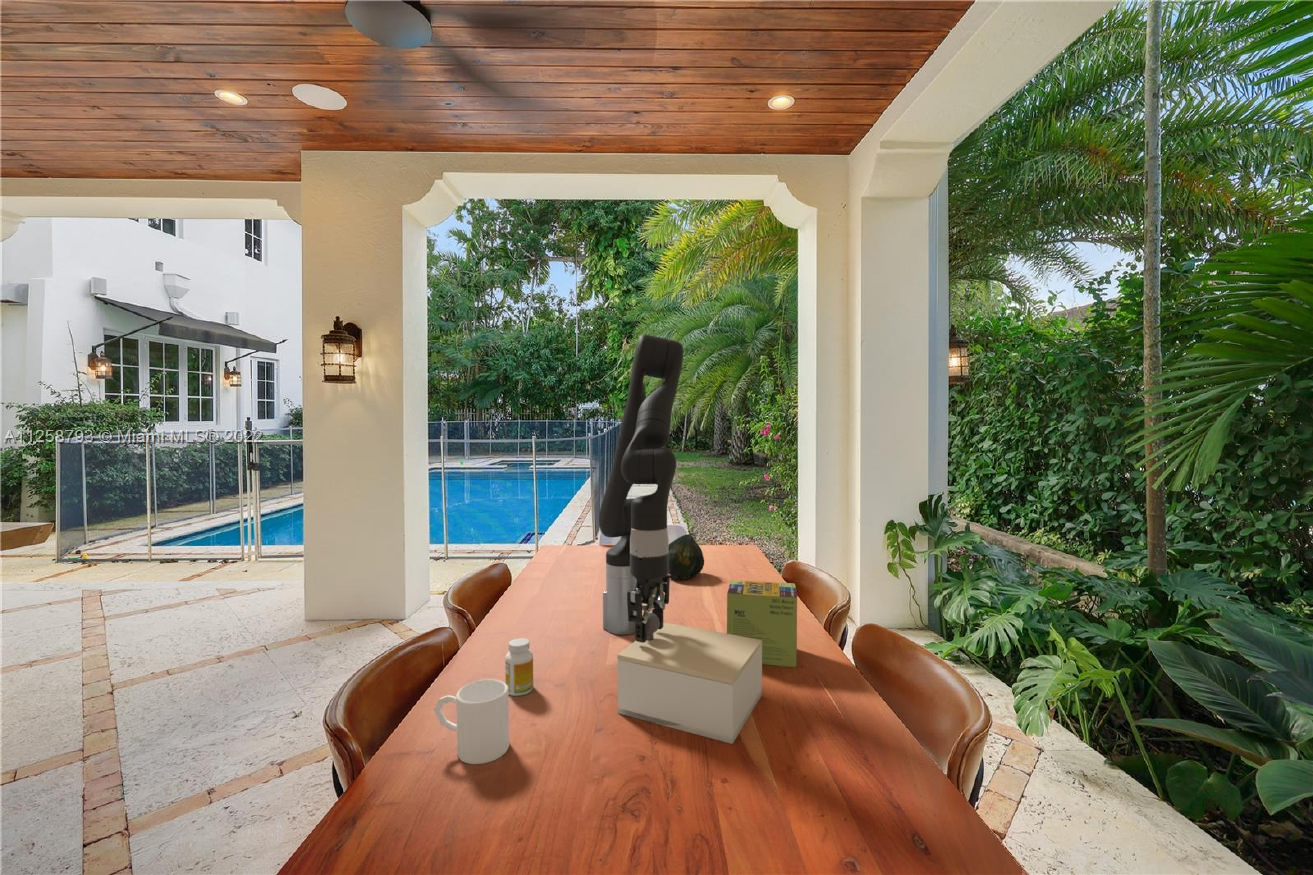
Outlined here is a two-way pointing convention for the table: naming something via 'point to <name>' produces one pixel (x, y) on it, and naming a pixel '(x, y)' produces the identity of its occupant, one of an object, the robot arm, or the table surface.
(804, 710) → the table surface
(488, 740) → the mug
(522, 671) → the supplement bottle
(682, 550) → the squash
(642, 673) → the carton
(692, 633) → the lid
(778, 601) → the protein box
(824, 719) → the table surface
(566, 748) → the table surface
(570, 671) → the table surface
